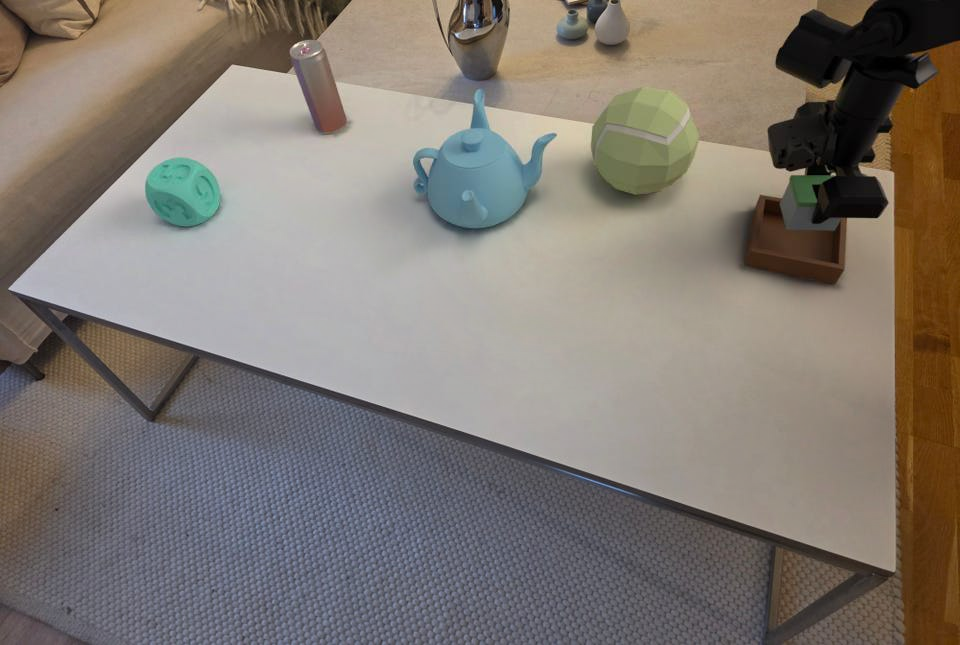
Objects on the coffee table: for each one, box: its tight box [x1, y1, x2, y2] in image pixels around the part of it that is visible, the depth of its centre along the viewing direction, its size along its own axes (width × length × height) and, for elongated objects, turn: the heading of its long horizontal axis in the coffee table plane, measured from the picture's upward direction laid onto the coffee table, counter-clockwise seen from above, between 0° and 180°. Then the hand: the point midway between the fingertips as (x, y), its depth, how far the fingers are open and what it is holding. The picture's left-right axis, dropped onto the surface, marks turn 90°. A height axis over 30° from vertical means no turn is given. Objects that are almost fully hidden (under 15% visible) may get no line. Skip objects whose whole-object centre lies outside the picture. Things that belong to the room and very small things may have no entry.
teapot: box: [412, 88, 558, 229], centre depth 89 cm, size 17×19×12 cm
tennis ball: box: [590, 86, 700, 196], centre depth 88 cm, size 15×15×15 cm
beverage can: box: [289, 39, 347, 135], centre depth 104 cm, size 6×6×15 cm
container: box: [780, 174, 841, 231], centre depth 77 cm, size 6×5×5 cm
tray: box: [744, 194, 848, 285], centre depth 82 cm, size 12×12×3 cm
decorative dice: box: [144, 156, 221, 227], centre depth 96 cm, size 8×8×8 cm
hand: (811, 208), depth 78 cm, fingers closed on container, 5 cm apart
